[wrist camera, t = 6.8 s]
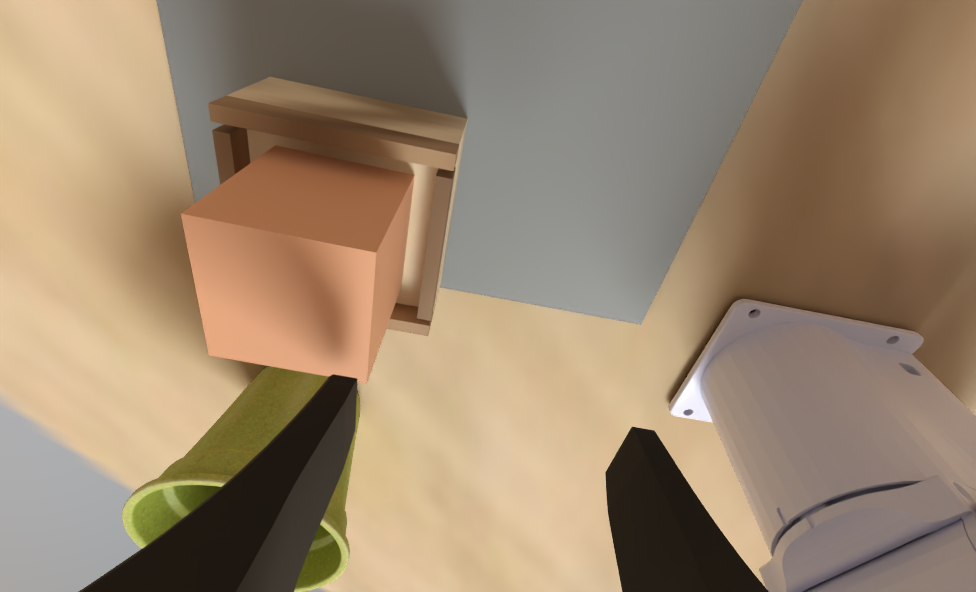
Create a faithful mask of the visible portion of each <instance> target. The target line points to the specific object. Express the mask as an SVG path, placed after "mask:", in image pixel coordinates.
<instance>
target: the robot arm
mask: <svg viewBox="0 0 976 592" xmlns="http://www.w3.org/2000/svg"><path fill="white" fill-rule="evenodd" d="M754 309H756V310H755V311H754V312H752V313H749V312H750V311H752V310H754ZM923 341H924V339H923V337H922V336H921V335H920V334H919V333H917V332H915V331H910V330H905V329H900V328H894V327H889V326H884V325H879V324H874V323H869V322H863V321H858V320H853V319H848V318H843V317H838V316H832V315H827V314H822V313H817V312H812V311H807V310H801V309H796V308H791V307H786V306H781V305H776V304H770V303H765V302H760V301H755V300H750V299H740V300H737V301H736V302H734V303H733V304H732V305H731V307H730V308H729V310H728V312H727V313H726V315H725V316H724V318H723V319H722V321H721V323H720V324H719V326H718V327H717V329H716V331H715V332H714V334H713V335H712V337H711V339H710V340H709V342H708V343H707V345H706V347H705V348H704V350H703V351H702V353H701V355H700V356H699V358H698V359H697V361H696V363H695V364H694V366H693V367H692V369H691V371H690V372H689V374H688V375H687V377H686V379H685V380H684V382H683V383H682V385H681V387H680V388H679V390H678V391H677V393H676V395H675V396H674V398H673V399H672V401H671V403H670V404H669V410H670V413H671V414H672V415H674V416H678V417H684V418H689V419H695V420H701V421H707V422H713V424H714V426H715V428H716V431H717V433H718V435H719V437H720V440H721V442H722V444H723V447H724V449H725V451H726V453H727V456H728V458H729V460H730V462H731V465H732V467H733V469H734V472H735V474H736V476H737V478H738V481H739V483H740V485H741V487H742V490H743V492H744V494H745V496H746V499H747V501H748V503H749V506H750V508H751V510H752V512H753V515H754V517H755V519H756V521H757V524H758V526H759V528H760V531H761V533H762V535H763V537H764V540H765V542H766V544H767V546H768V549H769V551H770V553H771V555H772V559H771V560H770V561H769V562H768V563H767V564H765V565H764V566H762V567H761V568H760V569H759V571H760V573H761V576H762V578H763V581H764V583H765V586H766V588H767V589H766V588H765V587H764V586H763V584H762V583H761V582H760V581H759V580H758V578H757V577H756V576H755V575H754V574H753V572H752V571H751V570H750V568H749V567H748V566H747V565H746V563H745V562H744V561H743V560H742V558H741V557H740V556H739V554H738V553H737V552H736V550H735V549H734V548H733V546H732V545H731V544H730V542H729V541H728V540H727V538H726V537H725V536H724V534H723V533H722V532H721V530H720V529H719V527H718V526H717V525H716V523H715V522H714V520H713V519H712V518H711V516H710V515H709V513H708V512H707V510H706V509H705V507H704V506H703V505H702V503H701V502H700V500H699V499H698V497H697V496H696V494H695V493H694V491H693V490H692V488H691V487H690V485H689V484H688V482H687V481H686V479H685V478H684V476H683V474H682V473H681V471H680V470H679V468H678V467H677V465H676V464H675V462H674V460H673V459H672V457H671V456H670V454H669V453H668V451H667V450H666V448H665V446H664V445H663V443H662V442H661V440H660V439H659V437H658V436H657V434H656V432H655V431H653V430H647V429H642V428H636V427H632V428H631V429H630V431H629V433H628V435H627V436H626V438H625V440H624V441H623V443H622V445H621V447H620V448H619V450H618V452H617V454H616V455H615V457H614V459H613V460H612V462H611V464H610V466H609V467H608V469H607V471H606V491H607V505H608V515H609V521H610V527H611V532H612V538H613V543H614V549H615V554H616V559H617V565H618V570H619V575H620V581H621V586H622V592H976V415H975V414H974V413H973V412H971V411H970V410H969V409H968V408H967V407H966V406H965V405H964V404H963V403H962V402H961V401H960V400H959V399H958V398H957V397H956V396H955V395H954V394H953V393H952V392H951V391H950V390H949V389H948V388H947V387H945V386H944V385H943V384H942V383H941V382H940V381H939V380H938V379H937V378H936V377H935V376H934V375H933V374H932V373H931V372H930V371H929V370H928V369H927V368H926V367H925V366H924V365H923V364H922V363H920V362H919V361H918V360H917V359H916V358H915V357H914V356H913V355H912V354H913V353H914V352H915V351H916V350H917V349H918V348H919V347H920V346H921V345H922V343H923ZM356 401H357V378H352V377H346V376H341V375H335V374H333V375H331V376H329V377H328V378H327V380H326V381H325V382H324V383H323V385H322V386H321V387H320V388H319V390H318V391H317V392H316V393H315V394H314V396H313V397H312V398H311V399H310V400H309V401H308V402H307V404H306V405H305V406H304V407H303V408H302V409H301V410H300V411H299V413H298V414H297V415H296V416H295V417H294V418H293V419H292V420H291V421H290V422H289V423H288V424H287V425H286V426H285V427H284V428H283V429H282V430H281V431H280V433H279V434H278V435H277V436H276V437H275V438H274V439H273V440H272V441H271V442H270V443H269V444H268V445H267V446H266V447H265V448H264V449H263V450H261V451H260V452H259V453H258V454H257V455H256V456H255V457H254V458H253V459H252V460H251V461H250V462H249V463H248V464H247V465H246V466H244V467H243V468H242V469H241V470H240V471H239V472H238V473H237V474H236V475H235V476H233V477H232V478H231V479H230V480H229V481H228V482H227V483H226V484H224V485H223V486H222V487H221V488H220V489H219V490H217V491H216V492H215V493H214V494H213V495H211V496H210V497H209V498H208V499H206V500H205V501H204V502H203V503H202V504H200V505H199V506H198V507H197V508H195V509H194V510H193V511H192V512H190V513H189V514H188V515H186V516H185V517H184V518H183V519H181V520H180V521H179V522H177V523H176V524H175V525H173V526H172V527H171V528H170V529H168V530H167V531H166V532H164V533H163V534H162V535H160V536H159V537H158V538H156V539H155V540H153V541H152V542H151V543H149V544H148V545H147V546H145V547H144V548H142V549H141V550H140V551H138V552H137V553H135V554H134V555H132V556H131V557H130V558H128V559H126V560H125V561H123V562H122V563H121V564H119V565H118V566H116V567H115V568H113V569H112V570H110V571H109V572H107V573H106V574H104V575H103V576H101V577H100V578H99V579H97V580H96V581H94V582H93V583H91V584H90V585H88V586H87V587H85V588H84V589H82V590H80V591H79V592H294V590H295V587H296V584H297V581H298V578H299V575H300V572H301V570H302V567H303V565H304V562H305V559H306V557H307V554H308V552H309V550H310V547H311V545H312V542H313V540H314V538H315V535H316V533H317V531H318V528H319V526H320V524H321V521H322V519H323V517H324V514H325V512H326V509H327V507H328V505H329V502H330V500H331V498H332V495H333V493H334V491H335V488H336V486H337V483H338V481H339V479H340V476H341V474H342V471H343V469H344V466H345V463H346V459H347V456H348V453H349V450H350V446H351V443H352V440H353V436H354V433H355V426H356ZM687 409H688V410H687Z"/></svg>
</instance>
